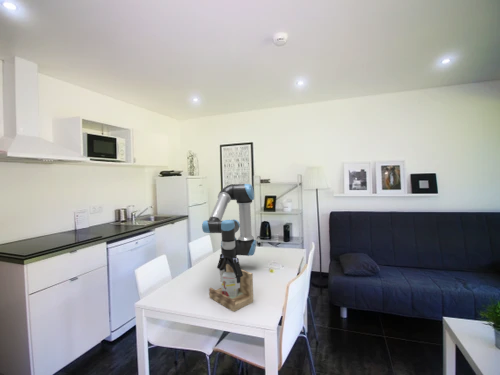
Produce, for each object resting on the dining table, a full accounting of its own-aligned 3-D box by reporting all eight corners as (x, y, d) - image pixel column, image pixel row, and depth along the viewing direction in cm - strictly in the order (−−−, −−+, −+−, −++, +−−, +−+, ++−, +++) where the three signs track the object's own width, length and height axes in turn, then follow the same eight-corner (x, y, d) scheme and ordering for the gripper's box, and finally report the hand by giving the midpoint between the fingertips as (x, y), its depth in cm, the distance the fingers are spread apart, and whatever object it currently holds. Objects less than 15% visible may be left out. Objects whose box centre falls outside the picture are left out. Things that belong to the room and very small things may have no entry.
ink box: (221, 296, 139) (221, 275, 139) (224, 292, 144) (223, 272, 144) (236, 297, 138) (235, 276, 137) (238, 292, 142) (237, 272, 142)
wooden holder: (209, 297, 144) (208, 270, 144) (228, 289, 154) (227, 264, 153) (233, 311, 128) (232, 281, 128) (253, 301, 138) (252, 273, 137)
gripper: (210, 245, 146) (211, 280, 147) (238, 254, 128) (239, 294, 129) (220, 242, 151) (222, 276, 153) (248, 250, 133) (249, 289, 134)
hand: (230, 284), depth 141 cm, fingers open, 13 cm apart
